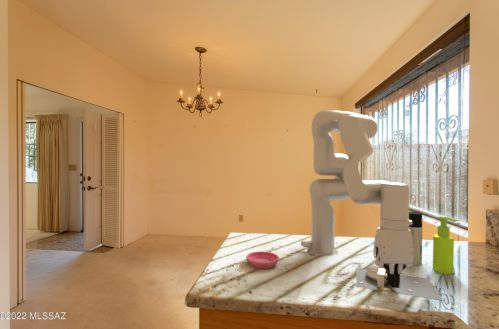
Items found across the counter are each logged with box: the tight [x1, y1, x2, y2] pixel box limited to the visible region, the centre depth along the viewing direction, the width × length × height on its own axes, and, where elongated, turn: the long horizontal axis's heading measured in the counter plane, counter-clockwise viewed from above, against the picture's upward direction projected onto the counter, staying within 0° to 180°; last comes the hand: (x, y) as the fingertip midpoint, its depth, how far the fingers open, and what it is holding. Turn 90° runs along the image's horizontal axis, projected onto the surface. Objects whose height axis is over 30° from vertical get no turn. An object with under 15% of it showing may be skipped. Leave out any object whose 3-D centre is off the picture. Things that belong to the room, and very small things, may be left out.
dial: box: [365, 265, 389, 288], centre depth 87 cm, size 14×10×4 cm
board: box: [355, 268, 443, 301], centre depth 86 cm, size 22×17×1 cm
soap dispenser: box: [432, 216, 459, 275], centre depth 95 cm, size 6×7×20 cm
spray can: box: [409, 210, 423, 266], centre depth 104 cm, size 7×7×20 cm
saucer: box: [245, 250, 280, 270], centre depth 103 cm, size 12×12×3 cm
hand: (393, 285), depth 81 cm, fingers closed
